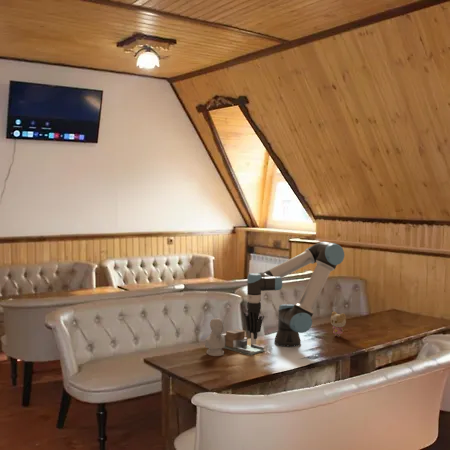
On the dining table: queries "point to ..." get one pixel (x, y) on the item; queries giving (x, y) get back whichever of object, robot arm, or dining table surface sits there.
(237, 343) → the slide jaw
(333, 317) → the toy
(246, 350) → the vise
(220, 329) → the figurine
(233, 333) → the block
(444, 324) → the dining table surface
